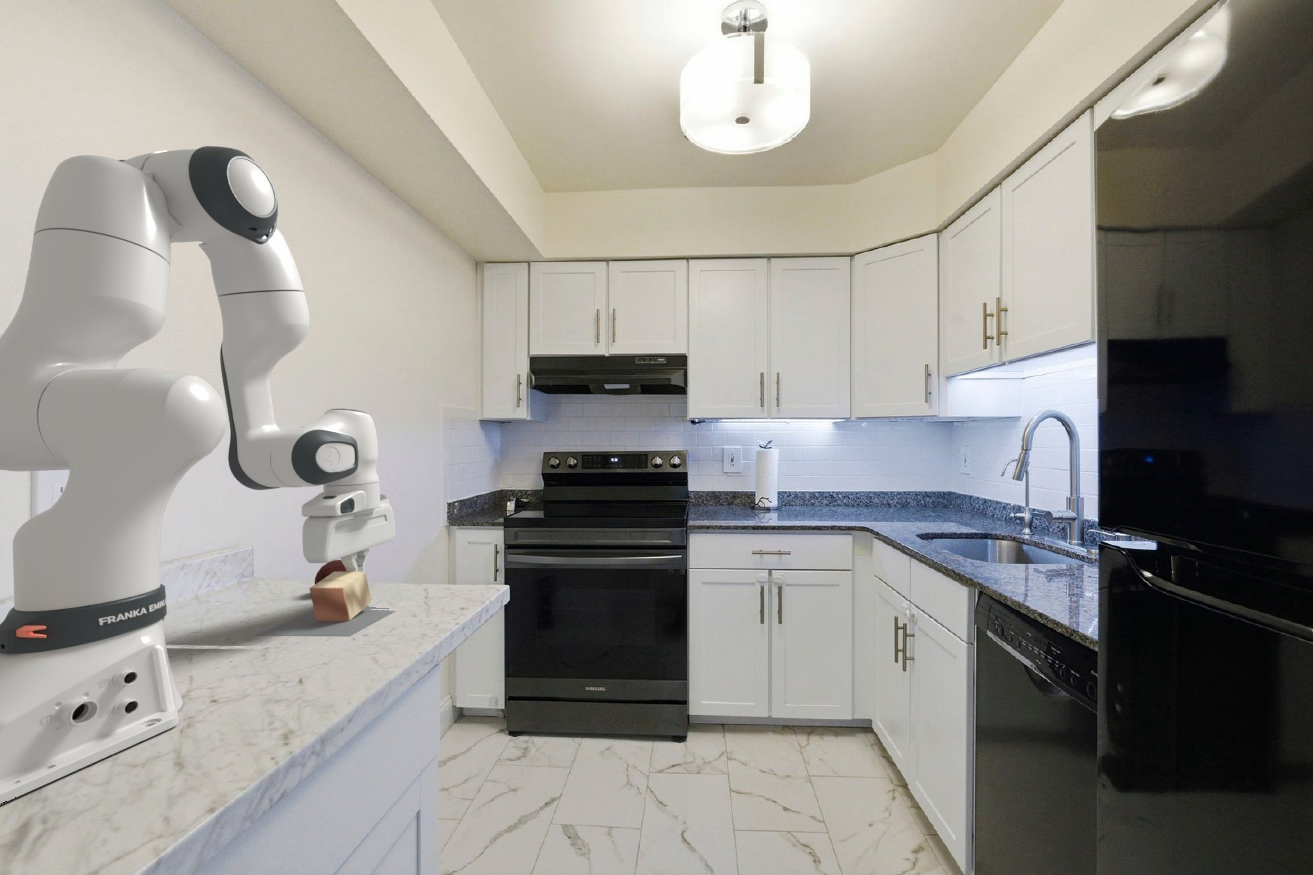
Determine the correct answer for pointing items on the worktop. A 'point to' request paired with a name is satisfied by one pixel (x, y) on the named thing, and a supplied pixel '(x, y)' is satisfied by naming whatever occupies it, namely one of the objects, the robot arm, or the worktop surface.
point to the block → (340, 596)
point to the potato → (329, 570)
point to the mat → (327, 624)
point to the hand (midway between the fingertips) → (356, 576)
